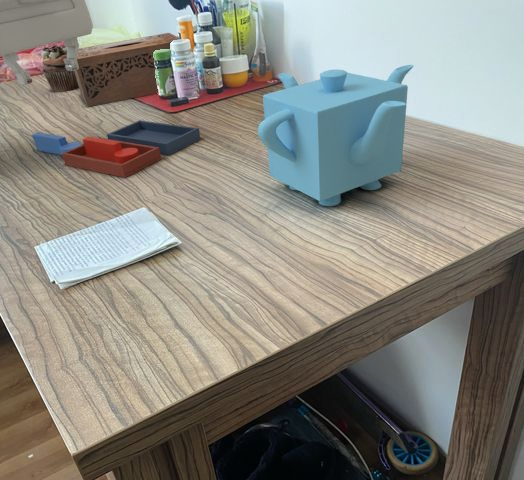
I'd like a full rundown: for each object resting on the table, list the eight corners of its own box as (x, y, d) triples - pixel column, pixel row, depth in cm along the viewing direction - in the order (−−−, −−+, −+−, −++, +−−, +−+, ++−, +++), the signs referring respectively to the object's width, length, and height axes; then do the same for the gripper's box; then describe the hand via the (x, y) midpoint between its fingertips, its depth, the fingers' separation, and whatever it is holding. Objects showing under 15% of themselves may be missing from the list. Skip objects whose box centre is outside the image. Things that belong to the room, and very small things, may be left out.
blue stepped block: (32, 152, 98) (25, 136, 97) (49, 145, 101) (43, 129, 99) (71, 160, 92) (66, 144, 91) (89, 153, 95) (83, 136, 93)
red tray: (65, 164, 91) (61, 153, 90) (102, 148, 96) (99, 137, 95) (125, 177, 83) (121, 165, 82) (161, 159, 89) (159, 147, 87)
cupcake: (91, 83, 141) (79, 41, 134) (68, 93, 134) (54, 49, 128) (65, 83, 144) (52, 42, 138) (41, 92, 138) (26, 50, 132)
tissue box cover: (177, 75, 138) (169, 32, 131) (191, 86, 127) (183, 39, 121) (81, 94, 132) (67, 50, 125) (87, 106, 121) (73, 59, 115)
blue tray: (109, 145, 97) (106, 134, 96) (141, 130, 102) (139, 120, 101) (168, 155, 90) (166, 143, 88) (200, 139, 95) (199, 128, 93)
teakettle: (258, 214, 68) (245, 95, 59) (283, 161, 82) (276, 58, 72) (404, 215, 64) (415, 87, 55) (405, 159, 78) (414, 49, 68)
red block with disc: (82, 158, 91) (76, 141, 89) (99, 151, 94) (94, 134, 92) (128, 168, 85) (123, 149, 83) (145, 159, 88) (141, 141, 86)
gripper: (62, -33, 84) (87, 61, 93) (-57, -16, 72) (-15, 90, 81) (86, -35, 81) (110, 63, 90) (-33, -17, 69) (8, 94, 78)
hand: (50, 76), depth 85 cm, fingers open, 8 cm apart
